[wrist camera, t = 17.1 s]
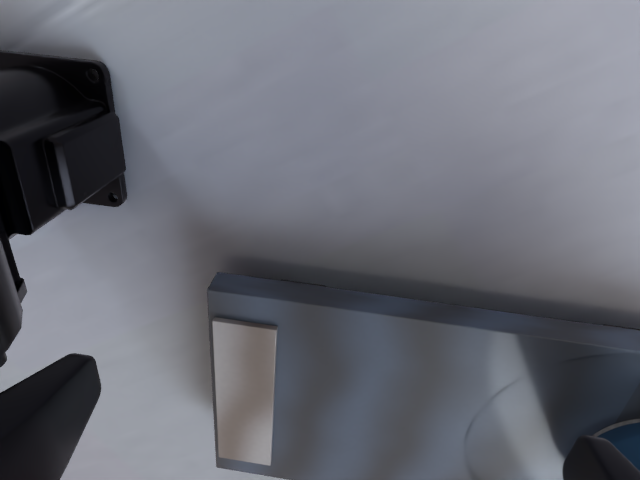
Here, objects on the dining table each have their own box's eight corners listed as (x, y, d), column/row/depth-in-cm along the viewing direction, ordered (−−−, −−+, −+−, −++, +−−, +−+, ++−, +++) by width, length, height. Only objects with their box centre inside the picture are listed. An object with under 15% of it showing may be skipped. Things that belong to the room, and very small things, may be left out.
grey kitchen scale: (230, 425, 29) (214, 472, 26) (226, 255, 23) (204, 293, 20) (646, 492, 28) (677, 550, 25) (769, 329, 21) (830, 382, 18)
